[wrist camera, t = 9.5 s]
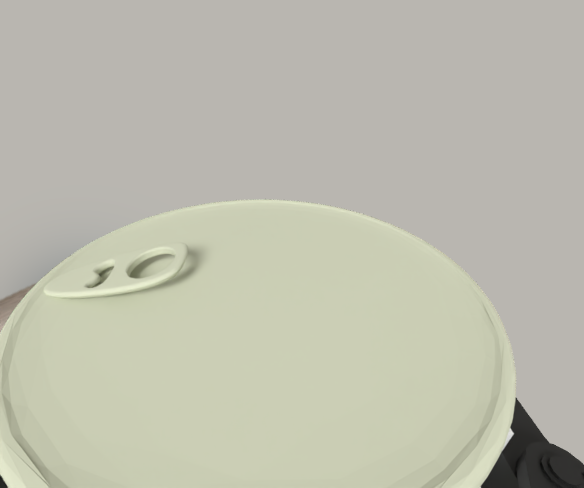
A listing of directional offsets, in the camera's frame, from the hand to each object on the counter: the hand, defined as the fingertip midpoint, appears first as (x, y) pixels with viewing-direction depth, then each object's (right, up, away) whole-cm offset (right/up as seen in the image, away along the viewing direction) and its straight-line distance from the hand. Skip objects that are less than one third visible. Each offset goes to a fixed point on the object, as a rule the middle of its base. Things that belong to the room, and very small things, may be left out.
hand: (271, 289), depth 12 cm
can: (0, -9, 0) cm, 9 cm away
